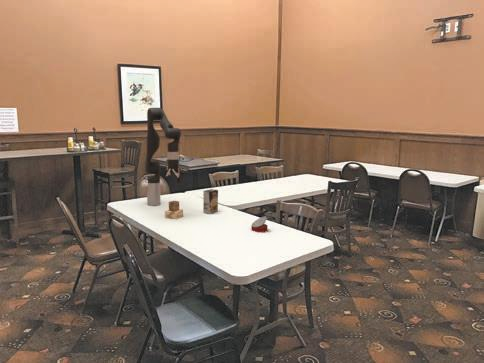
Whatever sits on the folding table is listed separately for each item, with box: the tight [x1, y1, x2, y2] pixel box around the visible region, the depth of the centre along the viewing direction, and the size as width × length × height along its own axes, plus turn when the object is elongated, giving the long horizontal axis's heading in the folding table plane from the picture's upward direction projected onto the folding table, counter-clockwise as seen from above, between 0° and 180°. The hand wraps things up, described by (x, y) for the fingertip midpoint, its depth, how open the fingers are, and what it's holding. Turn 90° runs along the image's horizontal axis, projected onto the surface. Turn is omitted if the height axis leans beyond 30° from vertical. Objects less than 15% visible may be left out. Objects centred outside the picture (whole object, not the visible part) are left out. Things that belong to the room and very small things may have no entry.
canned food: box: [250, 216, 268, 233], centre depth 249 cm, size 11×10×10 cm
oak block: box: [164, 208, 184, 220], centre depth 276 cm, size 9×9×5 cm
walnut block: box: [168, 200, 180, 212], centre depth 275 cm, size 5×5×6 cm
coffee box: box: [202, 189, 219, 215], centre depth 290 cm, size 9×6×16 cm
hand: (173, 182), depth 273 cm, fingers open, 8 cm apart
